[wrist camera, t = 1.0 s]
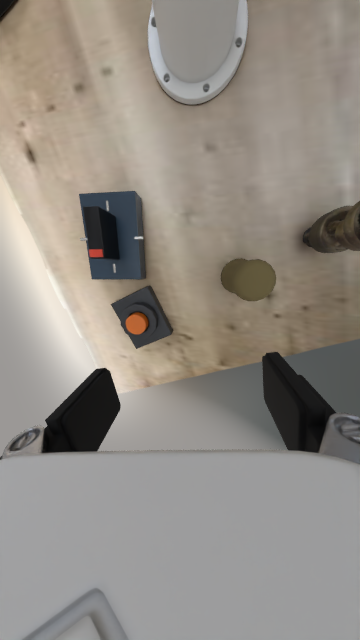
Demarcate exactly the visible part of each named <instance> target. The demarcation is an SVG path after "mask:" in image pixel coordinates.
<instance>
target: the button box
mask: <svg viewBox="0 0 360 640" xmlns="http://www.w3.org/2000/svg"><path fill="white" fill-rule="evenodd" d="M111 305H112V307H113V309H114V311H115V312H116V314H117V316H118V318H119V319H120V321H121V326H122V327H123V329H124V331H125V333H126V334H128V335H129V337H130V339H131V340H132V342H133V344H134V346H135V347H136V349H137V348H140V347H142V346H145V345H147V344H149V343H152V342H154V341H157V340H159V339H162V338H164V337H167V336H169V335H171V334H172V332H173V329H172V327H171V325H170V323H169V321H168V319H167V317H166V315H165V313H164V311H163V309H162V307H161V305H160V303H159V301H158V299H157V297H156V295H155V293H154V291H153V289H152V287H151V286H147V287H145V288H143V289H141V290H139V291H137V292H135V293H133V294H131V295H129V296H127V297H125V298H123V299H121V300H119V301H117V302H114V303H112V304H111ZM136 312H139V313H142V314H144V315H145V316H146V317H147V319H148V327H147V328H146V330H145V331H144V332H143V333H141V334H132V333H131V332H129V331H128V329H127V328H126V320H127V318H128V317H129V316H131V315H132V314H133V313H136Z"/></svg>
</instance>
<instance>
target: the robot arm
mask: <svg viewBox="0 0 360 640" xmlns="http://www.w3.org/2000/svg"><path fill="white" fill-rule="evenodd" d="M247 30H248V8H247V0H152V8H151V12H150V17H149V24H148V48H149V54H150V59H151V63H152V67H153V70H154V73H155V75H156V78H157V80H158V82H159V84H160V85H161V87H162V88H163V90H164V91H165V92H166V93H167V94H168V95H169V96H170V97H172V98H173V99H175V100H176V101H179V102H181V103H184V104H192V105H193V104H200V103H203V102H206V101H209V100H210V99H212V98H213V97H215V96H217V95H218V94H219V93H220V92H221V91H222V90H223V89H224V88H225V87H226V86H227V84H228V83H229V82H230V80H231V79H232V78H233V76H234V74H235V72H236V70H237V68H238V66H239V63H240V61H241V58H242V55H243V51H244V46H245V42H246V36H247ZM262 362H263V386H264V399H265V402H266V404H267V407H268V409H269V411H270V413H271V415H272V417H273V419H274V421H275V424H276V426H277V428H278V430H279V432H280V434H281V436H282V438H283V441H284V442H285V445H286V447H287V449H288V450H149V451H148V450H147V451H99V452H98V451H97V450H98V449H99V446H100V445H101V443H102V441H103V440H104V438H105V436H106V434H107V432H108V430H109V429H110V427H111V425H112V423H113V421H114V420H115V418H116V416H117V414H118V412H119V410H120V402H119V398H118V395H117V392H116V389H115V386H114V383H113V380H112V377H111V373H110V371H109V370H107V369H106V368H101V369H96V370H95V371H94V372H93V373H92V374H91V375H90V376H89V377H88V378H87V379H86V380H85V381H84V382H83V383H82V384H81V385H80V386H79V387H78V388H77V389H76V390H75V391H74V392H73V393H72V394H71V395H70V396H69V397H68V398H67V399H66V400H65V401H64V402H63V403H62V404H61V405H60V406H59V407H58V408H57V409H56V410H55V411H54V412H53V413H52V414H51V415H50V416H49V417H48V418H47V419H46V420H45V421H46V423H47V425H48V426H47V427H46V428H45V429H44V427H43V426H34V427H31V428H29V429H27V430H25V431H23V432H21V433H20V434H19V435H17V436H16V437H15V438H13V439H12V440H11V441H10V442H9V444H8V445H7V446H6V448H5V450H4V453H3V455H2V456H1V457H0V640H360V417H359V416H356V415H352V414H348V413H336V412H335V411H334V410H333V409H332V407H331V406H330V405H329V404H328V403H327V402H326V401H325V400H324V399H323V398H322V397H321V395H320V394H319V393H318V392H317V391H316V390H315V389H314V388H313V387H312V386H311V385H310V384H309V382H308V381H307V380H306V379H305V378H304V377H303V376H302V375H297V374H296V372H295V371H294V370H293V369H292V368H291V367H290V366H289V364H288V363H287V362H286V361H285V360H284V359H283V358H282V357H281V355H280V354H279V353H278V352H272V353H266V355H265V356H263V357H262Z"/></svg>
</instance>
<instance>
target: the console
mask: <svg viewBox="0 0 360 640" xmlns="http://www.w3.org/2000/svg"><path fill="white" fill-rule="evenodd" d="M79 196H80V203H81V210H82V216H83V223H84V230H85V236H86V238H80V240H81V241H85V240H86V243H87V250H88V256H89V263H90V269H91V276H92V279H144V278H146V270H145V254H144V237H143V221H142V205H141V198H140V196H139V195H138V194H137V193H136V192H135V191H126V192H107V193H88V194H79ZM89 206H99V207H100V208H102V209H104V210H106V211H107V212H109V213H111V214H112V215H114V216H115V218H116V228H117V238H118V247H119V257H120V259H119V260H104V259H91V258H90V254H89V246H88V239H87V232H86V226H85V219H84V212H83V207H89Z"/></svg>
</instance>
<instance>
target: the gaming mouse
mask: <svg viewBox="0 0 360 640" xmlns="http://www.w3.org/2000/svg"><path fill="white" fill-rule="evenodd" d="M13 2H14V0H0V17H1V16H2V14H3V13H4V12H5V11H6V10H7V9H8V8H9V7H10V6H11V4H12V3H13Z"/></svg>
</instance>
